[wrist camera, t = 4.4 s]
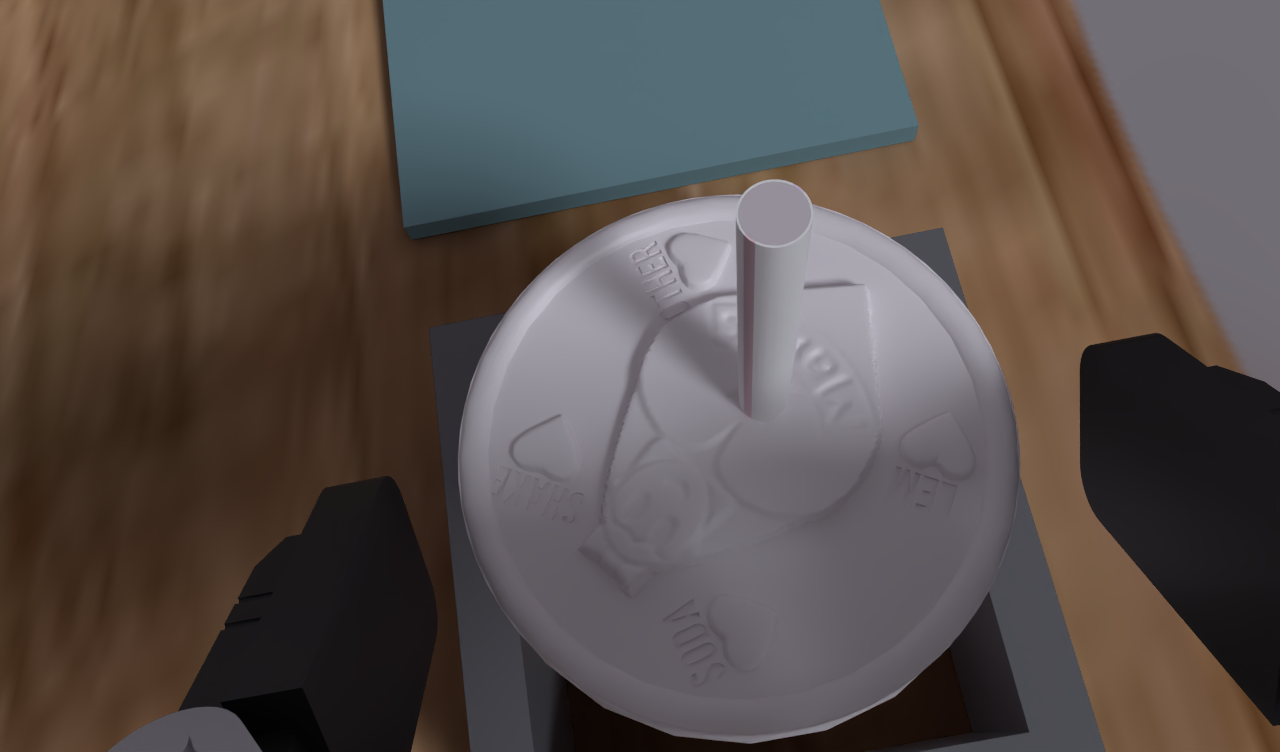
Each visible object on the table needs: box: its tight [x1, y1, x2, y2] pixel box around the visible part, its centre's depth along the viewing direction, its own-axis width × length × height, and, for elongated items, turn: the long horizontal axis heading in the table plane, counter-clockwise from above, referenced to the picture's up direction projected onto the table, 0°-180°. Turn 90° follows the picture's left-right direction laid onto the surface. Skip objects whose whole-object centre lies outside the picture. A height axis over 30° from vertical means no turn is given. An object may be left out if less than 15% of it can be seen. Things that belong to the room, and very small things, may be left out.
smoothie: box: [458, 180, 1020, 744], centre depth 14 cm, size 6×6×14 cm
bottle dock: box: [429, 228, 1105, 752], centre depth 18 cm, size 10×10×4 cm
